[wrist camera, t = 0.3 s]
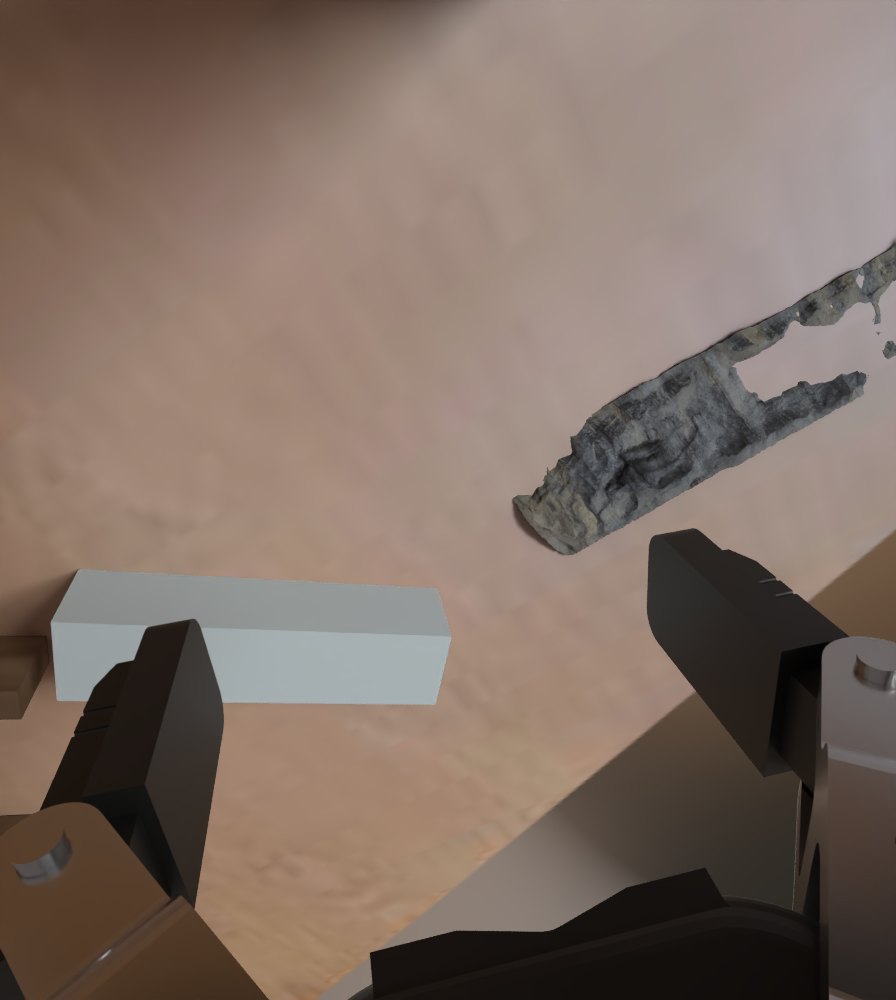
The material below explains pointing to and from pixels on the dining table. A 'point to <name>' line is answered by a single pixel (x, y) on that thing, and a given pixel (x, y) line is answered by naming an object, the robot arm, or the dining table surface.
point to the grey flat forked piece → (692, 423)
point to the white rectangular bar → (261, 635)
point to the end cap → (19, 685)
